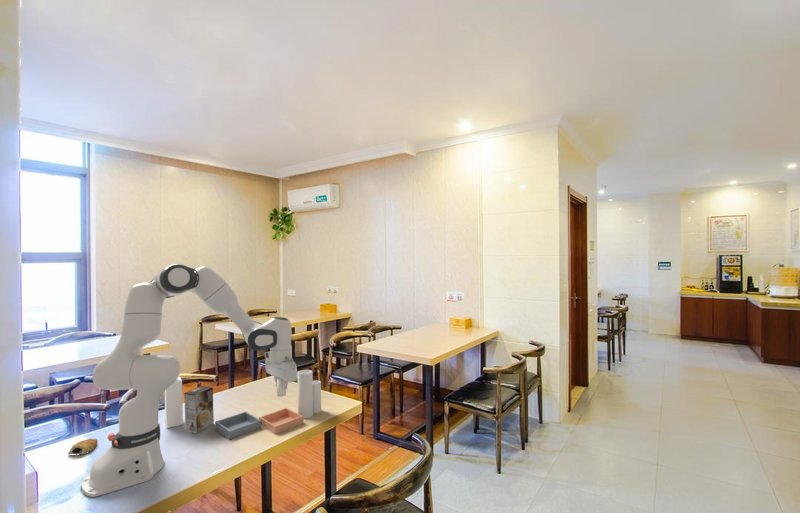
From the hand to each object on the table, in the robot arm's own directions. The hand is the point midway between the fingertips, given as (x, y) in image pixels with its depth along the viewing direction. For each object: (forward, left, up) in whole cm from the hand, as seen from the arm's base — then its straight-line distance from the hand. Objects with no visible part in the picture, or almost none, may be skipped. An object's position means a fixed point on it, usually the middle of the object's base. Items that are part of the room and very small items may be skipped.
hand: (281, 387), depth 163 cm
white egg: (0, 0, -3) cm, 3 cm away
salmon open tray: (0, +1, -16) cm, 16 cm away
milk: (-30, +37, -16) cm, 50 cm away
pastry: (-60, +38, -17) cm, 73 cm away
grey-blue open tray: (-14, +11, -16) cm, 24 cm away
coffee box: (-24, +25, -17) cm, 38 cm away
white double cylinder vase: (+14, +1, -16) cm, 22 cm away
